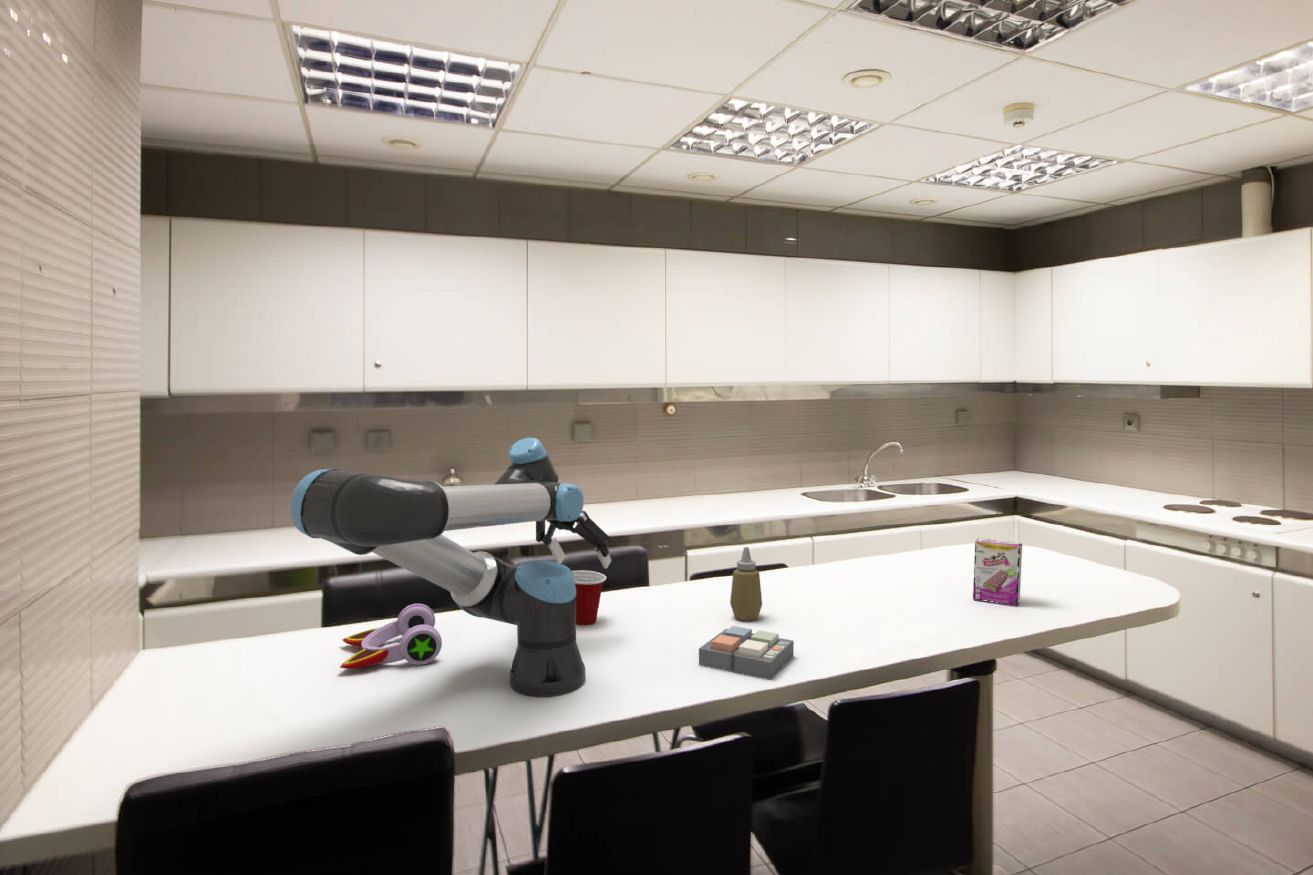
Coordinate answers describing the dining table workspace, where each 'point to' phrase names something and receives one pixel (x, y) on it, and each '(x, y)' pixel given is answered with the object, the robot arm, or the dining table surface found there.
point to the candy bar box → (997, 571)
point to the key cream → (753, 648)
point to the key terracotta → (726, 643)
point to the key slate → (739, 633)
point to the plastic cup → (587, 595)
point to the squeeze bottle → (746, 589)
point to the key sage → (766, 638)
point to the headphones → (415, 645)
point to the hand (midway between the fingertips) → (584, 562)
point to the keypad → (748, 659)
